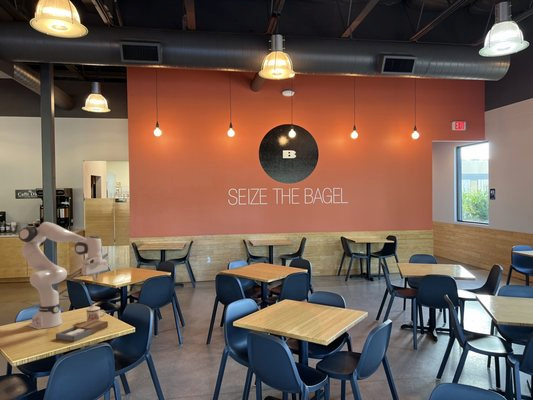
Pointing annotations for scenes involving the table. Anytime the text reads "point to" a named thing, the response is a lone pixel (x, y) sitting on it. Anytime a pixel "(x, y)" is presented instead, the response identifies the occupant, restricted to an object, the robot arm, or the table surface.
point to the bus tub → (72, 338)
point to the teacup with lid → (94, 313)
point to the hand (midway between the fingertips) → (95, 279)
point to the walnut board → (92, 325)
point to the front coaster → (72, 333)
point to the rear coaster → (79, 330)
